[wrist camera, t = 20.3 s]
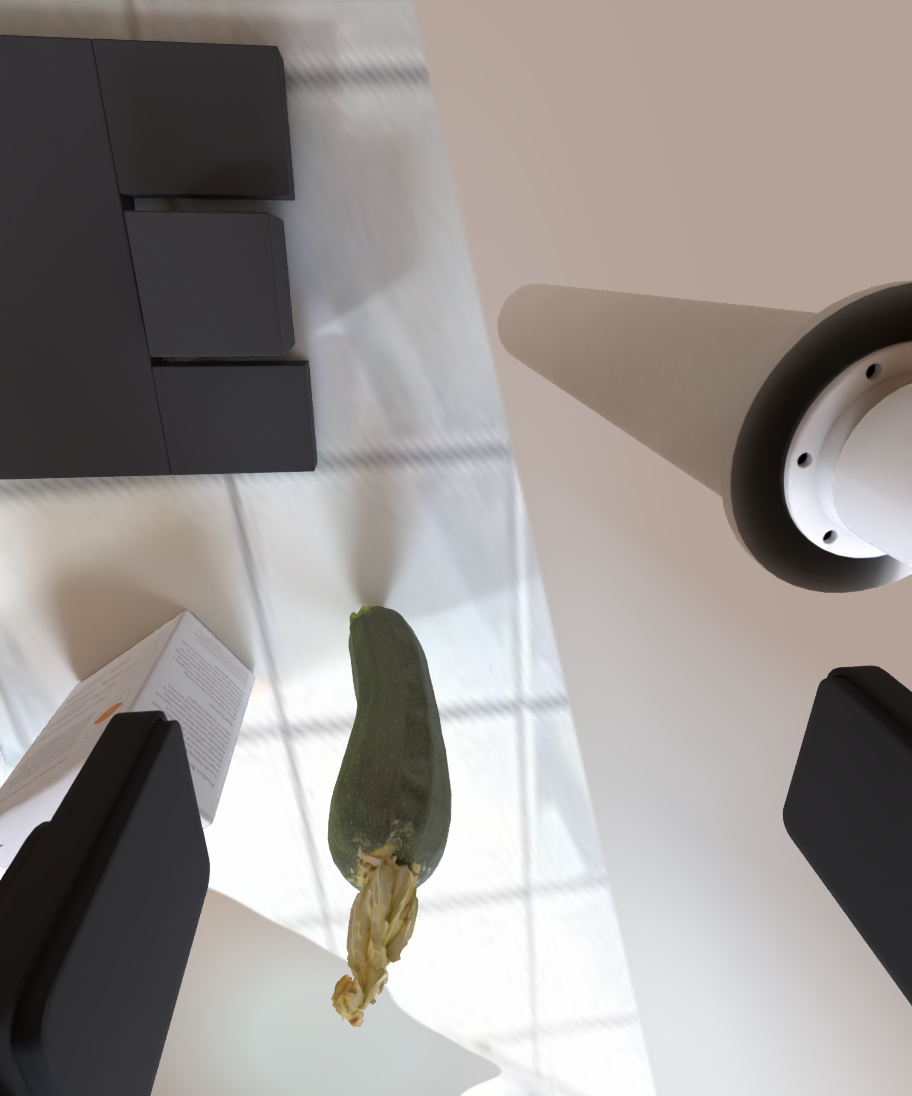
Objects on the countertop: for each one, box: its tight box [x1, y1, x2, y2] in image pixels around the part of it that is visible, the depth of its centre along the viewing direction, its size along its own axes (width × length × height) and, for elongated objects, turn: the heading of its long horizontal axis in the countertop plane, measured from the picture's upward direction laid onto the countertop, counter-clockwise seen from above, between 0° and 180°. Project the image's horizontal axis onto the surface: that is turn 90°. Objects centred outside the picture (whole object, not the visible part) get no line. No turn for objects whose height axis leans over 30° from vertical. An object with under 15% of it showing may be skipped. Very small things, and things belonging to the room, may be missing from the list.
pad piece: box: [124, 210, 295, 357], centre depth 25 cm, size 5×5×4 cm
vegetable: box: [328, 606, 451, 1027], centre depth 26 cm, size 4×4×20 cm
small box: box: [0, 610, 255, 870], centre depth 30 cm, size 8×6×10 cm
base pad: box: [0, 35, 317, 479], centre depth 26 cm, size 18×16×2 cm
